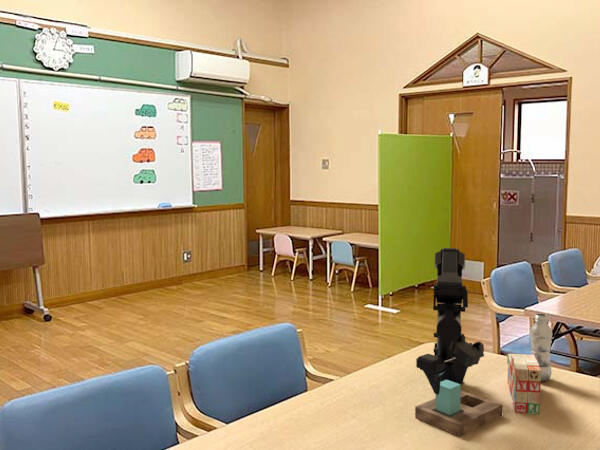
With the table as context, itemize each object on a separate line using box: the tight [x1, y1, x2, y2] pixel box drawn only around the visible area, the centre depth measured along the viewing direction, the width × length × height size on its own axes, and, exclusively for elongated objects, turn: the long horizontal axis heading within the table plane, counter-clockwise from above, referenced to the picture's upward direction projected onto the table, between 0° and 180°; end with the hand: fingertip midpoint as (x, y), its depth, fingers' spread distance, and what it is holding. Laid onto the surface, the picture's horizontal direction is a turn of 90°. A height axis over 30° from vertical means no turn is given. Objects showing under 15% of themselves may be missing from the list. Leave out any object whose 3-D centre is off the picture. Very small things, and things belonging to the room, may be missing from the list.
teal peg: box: [435, 380, 462, 418], centre depth 149 cm, size 4×4×10 cm
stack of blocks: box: [507, 353, 542, 415], centre depth 163 cm, size 21×6×12 cm, turn 166°
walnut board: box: [414, 390, 503, 438], centre depth 152 cm, size 14×18×3 cm
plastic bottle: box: [529, 313, 553, 382], centre depth 176 cm, size 6×7×20 cm
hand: (448, 389), depth 149 cm, fingers open, 9 cm apart
